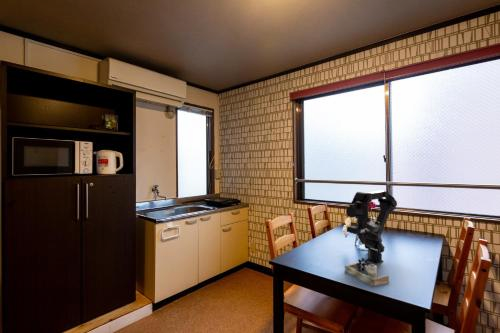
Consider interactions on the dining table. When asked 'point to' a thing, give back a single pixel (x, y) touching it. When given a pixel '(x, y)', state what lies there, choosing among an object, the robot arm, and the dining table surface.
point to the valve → (368, 268)
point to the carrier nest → (371, 281)
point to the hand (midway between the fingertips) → (362, 243)
